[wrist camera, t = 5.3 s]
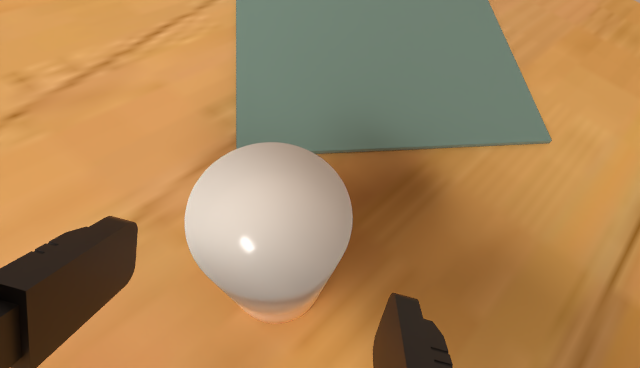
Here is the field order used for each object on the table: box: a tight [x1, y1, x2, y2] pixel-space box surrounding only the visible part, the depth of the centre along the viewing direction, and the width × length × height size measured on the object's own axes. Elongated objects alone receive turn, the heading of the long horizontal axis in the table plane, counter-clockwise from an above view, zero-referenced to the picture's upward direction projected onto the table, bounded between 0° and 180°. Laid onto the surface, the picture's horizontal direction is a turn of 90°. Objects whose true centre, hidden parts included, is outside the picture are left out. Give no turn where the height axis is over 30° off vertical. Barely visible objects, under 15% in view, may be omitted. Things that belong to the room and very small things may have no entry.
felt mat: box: [236, 0, 552, 154], centre depth 25 cm, size 20×20×1 cm
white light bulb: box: [185, 142, 353, 324], centre depth 13 cm, size 4×4×9 cm
